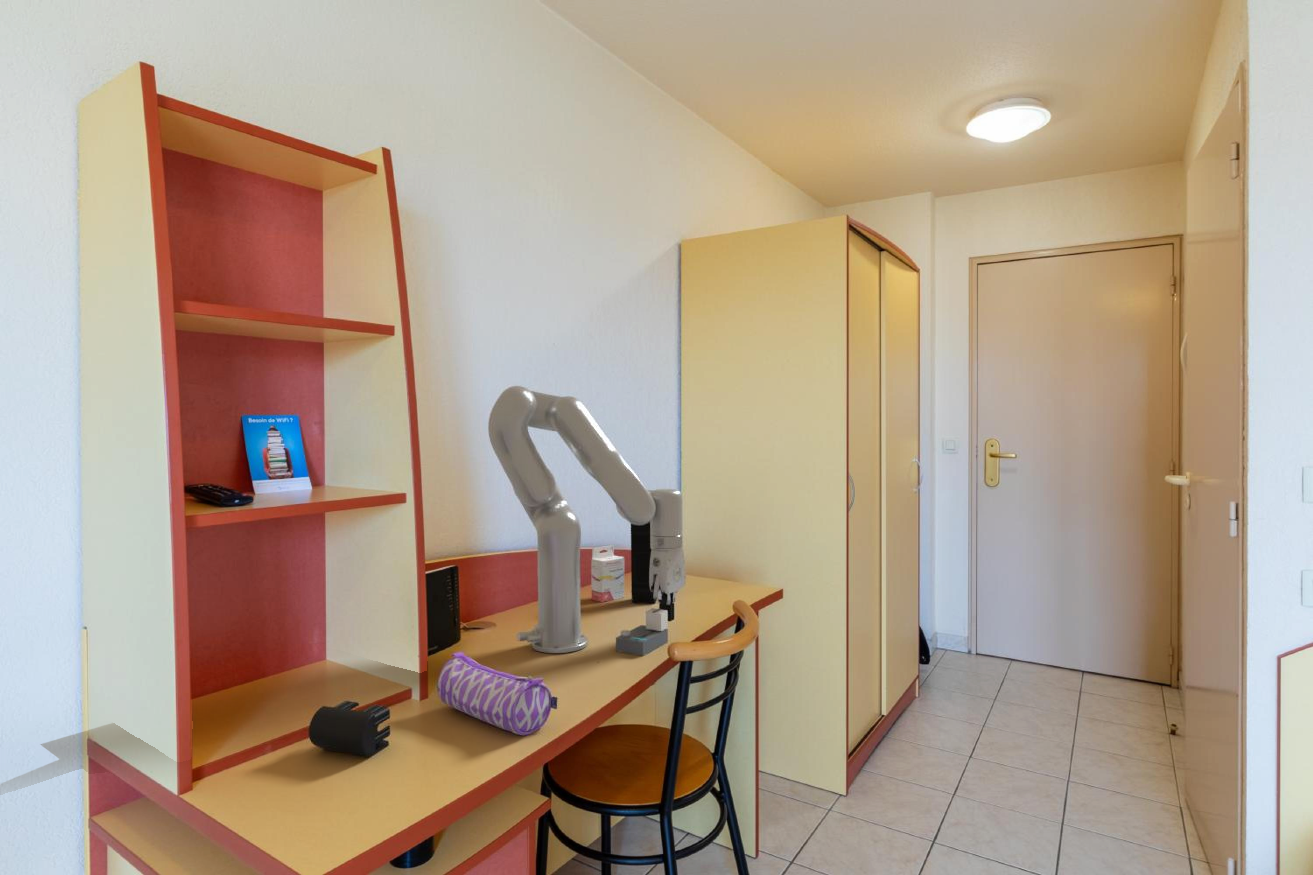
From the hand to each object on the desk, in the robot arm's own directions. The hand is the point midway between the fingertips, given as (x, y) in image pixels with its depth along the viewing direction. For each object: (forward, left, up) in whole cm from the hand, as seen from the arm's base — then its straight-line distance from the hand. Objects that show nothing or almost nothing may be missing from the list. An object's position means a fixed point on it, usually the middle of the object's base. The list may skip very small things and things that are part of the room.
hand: (666, 619), depth 170 cm
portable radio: (+11, +32, -4) cm, 34 cm away
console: (-8, -4, -4) cm, 10 cm away
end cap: (-71, -26, -4) cm, 76 cm away
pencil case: (-48, -26, -4) cm, 55 cm away
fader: (-4, -3, -1) cm, 5 cm away
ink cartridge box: (+3, +40, -4) cm, 40 cm away
